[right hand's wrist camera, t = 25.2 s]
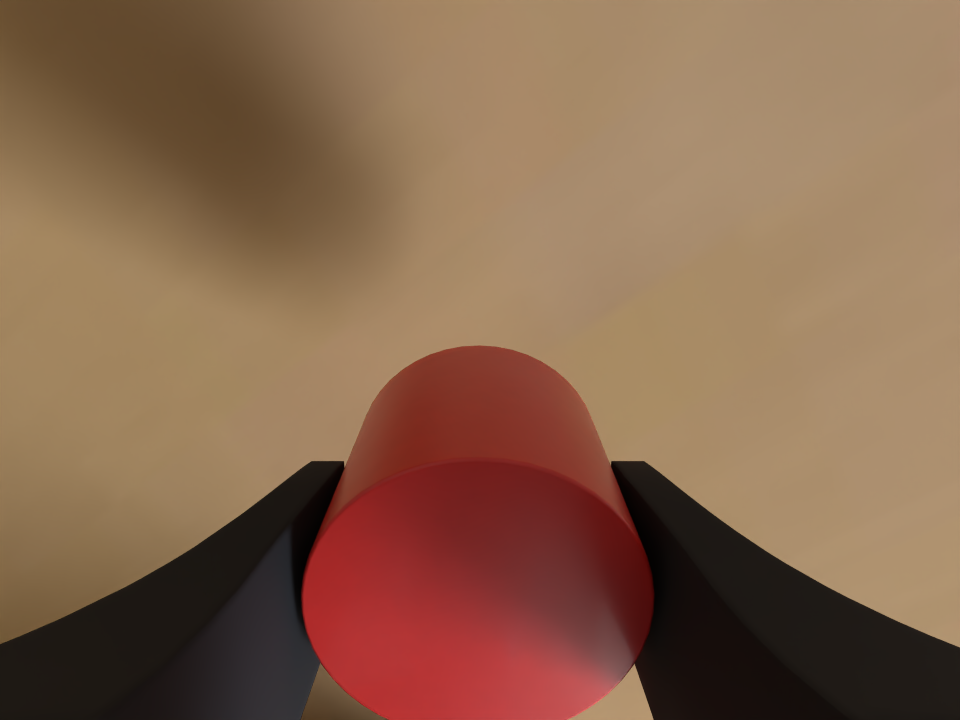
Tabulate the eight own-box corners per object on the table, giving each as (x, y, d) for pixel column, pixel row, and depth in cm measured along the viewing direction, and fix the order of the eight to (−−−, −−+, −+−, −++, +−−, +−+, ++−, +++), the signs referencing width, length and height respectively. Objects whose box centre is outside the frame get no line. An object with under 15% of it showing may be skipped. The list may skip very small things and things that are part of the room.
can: (367, 553, 13) (316, 740, 9) (352, 344, 12) (280, 457, 7) (588, 554, 13) (637, 741, 9) (605, 345, 12) (676, 459, 7)
